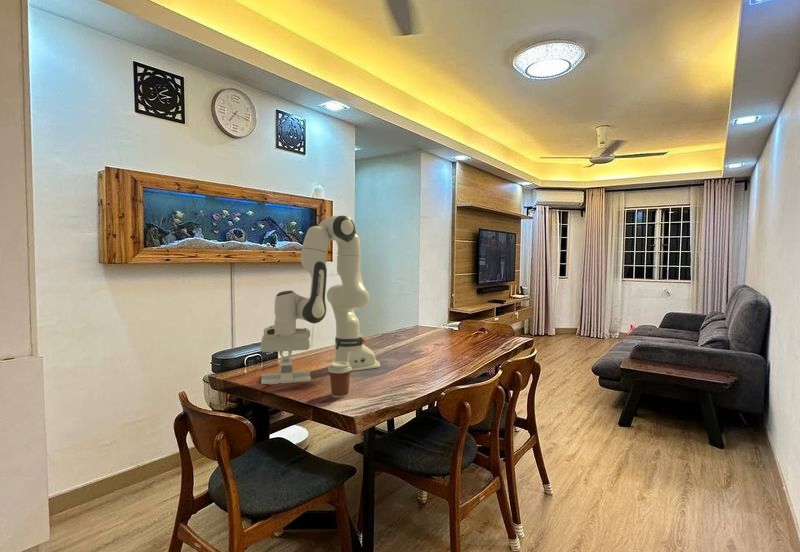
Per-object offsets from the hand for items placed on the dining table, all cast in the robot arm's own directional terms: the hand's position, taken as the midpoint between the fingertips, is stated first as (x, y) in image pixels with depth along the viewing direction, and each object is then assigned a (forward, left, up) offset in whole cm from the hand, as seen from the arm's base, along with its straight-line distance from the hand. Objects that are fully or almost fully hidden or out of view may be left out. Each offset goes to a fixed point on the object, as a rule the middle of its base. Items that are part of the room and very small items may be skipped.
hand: (285, 361), depth 179 cm
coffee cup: (-19, +27, -8) cm, 34 cm away
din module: (0, 0, -7) cm, 7 cm away
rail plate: (0, 0, -8) cm, 8 cm away
